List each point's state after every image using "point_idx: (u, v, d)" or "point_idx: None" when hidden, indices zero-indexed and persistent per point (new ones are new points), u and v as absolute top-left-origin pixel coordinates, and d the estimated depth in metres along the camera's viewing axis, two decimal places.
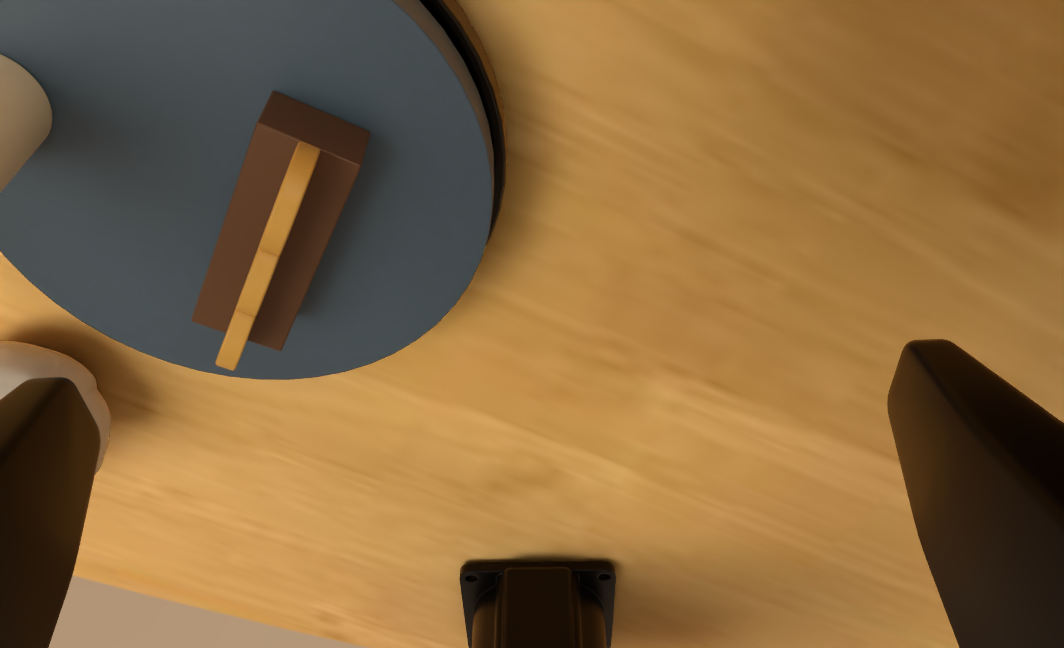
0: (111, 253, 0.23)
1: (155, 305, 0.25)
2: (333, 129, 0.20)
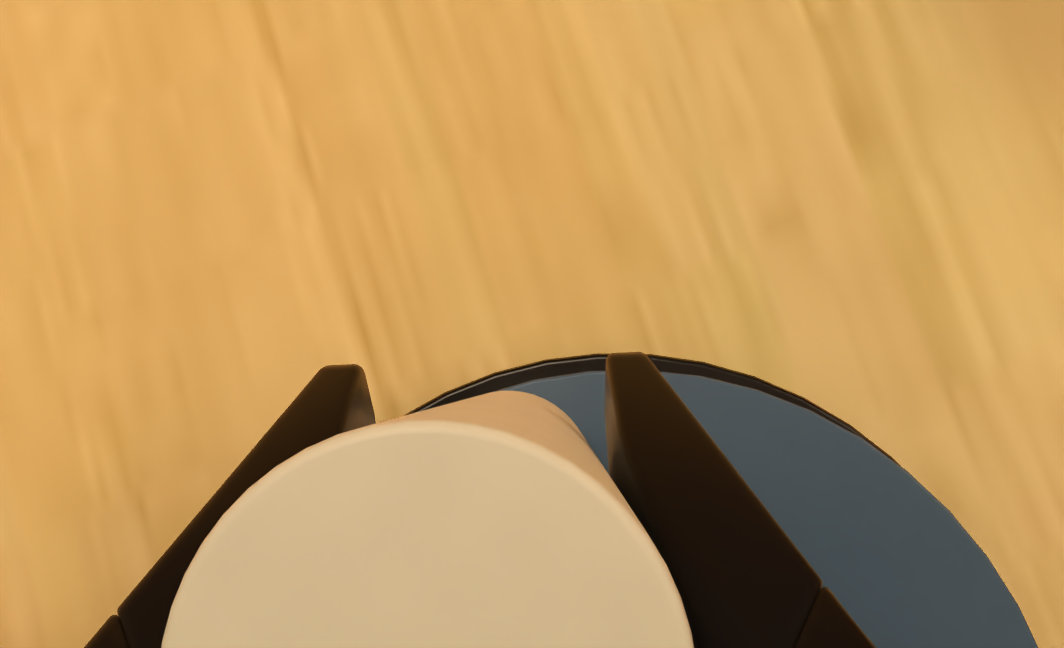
0: None
1: None
2: None
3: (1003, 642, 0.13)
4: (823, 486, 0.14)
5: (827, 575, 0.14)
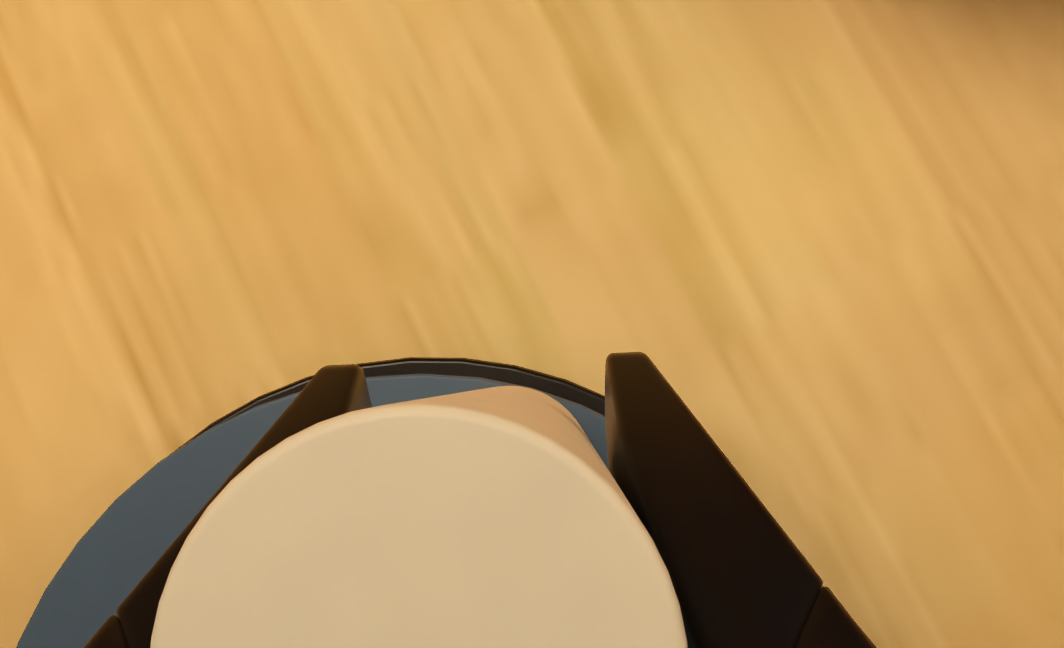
0: None
1: None
2: None
3: None
4: None
5: None
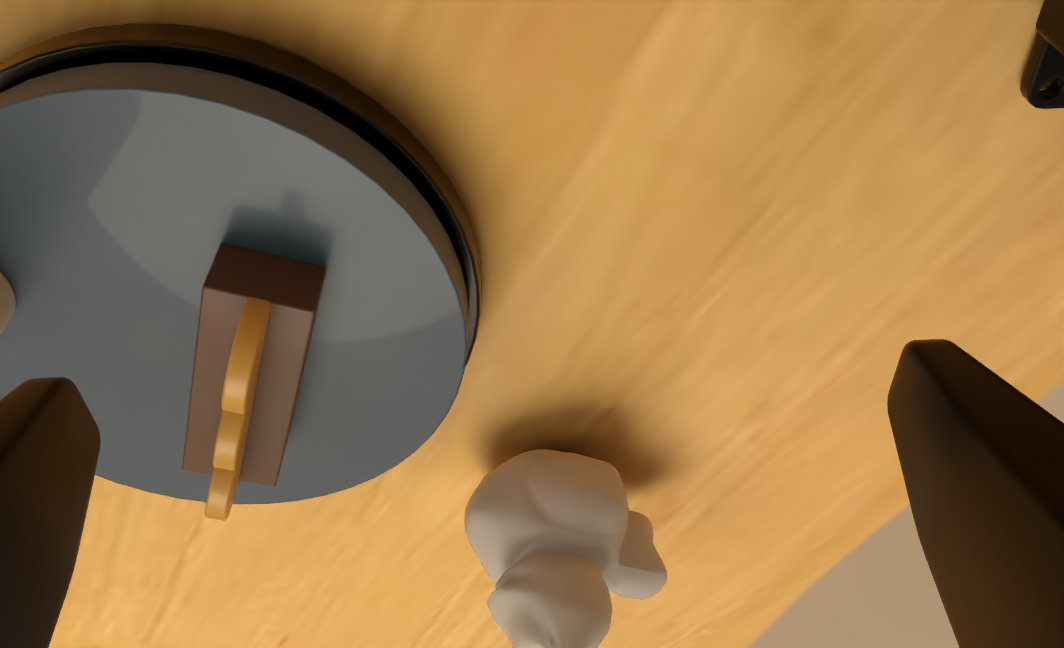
0: (99, 408, 0.23)
1: (152, 449, 0.25)
2: (285, 274, 0.20)
3: (196, 116, 0.18)
4: (33, 146, 0.18)
5: (99, 179, 0.19)
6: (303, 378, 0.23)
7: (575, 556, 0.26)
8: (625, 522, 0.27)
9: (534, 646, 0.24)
